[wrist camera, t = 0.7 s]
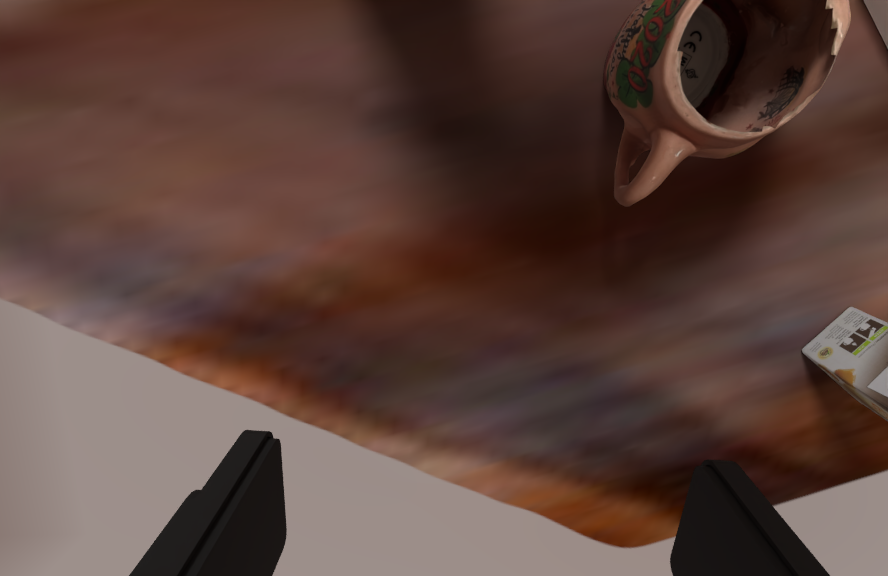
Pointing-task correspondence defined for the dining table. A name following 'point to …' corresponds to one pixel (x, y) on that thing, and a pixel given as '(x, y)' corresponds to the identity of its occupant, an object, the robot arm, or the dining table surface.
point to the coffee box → (855, 357)
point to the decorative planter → (713, 78)
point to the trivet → (879, 16)
